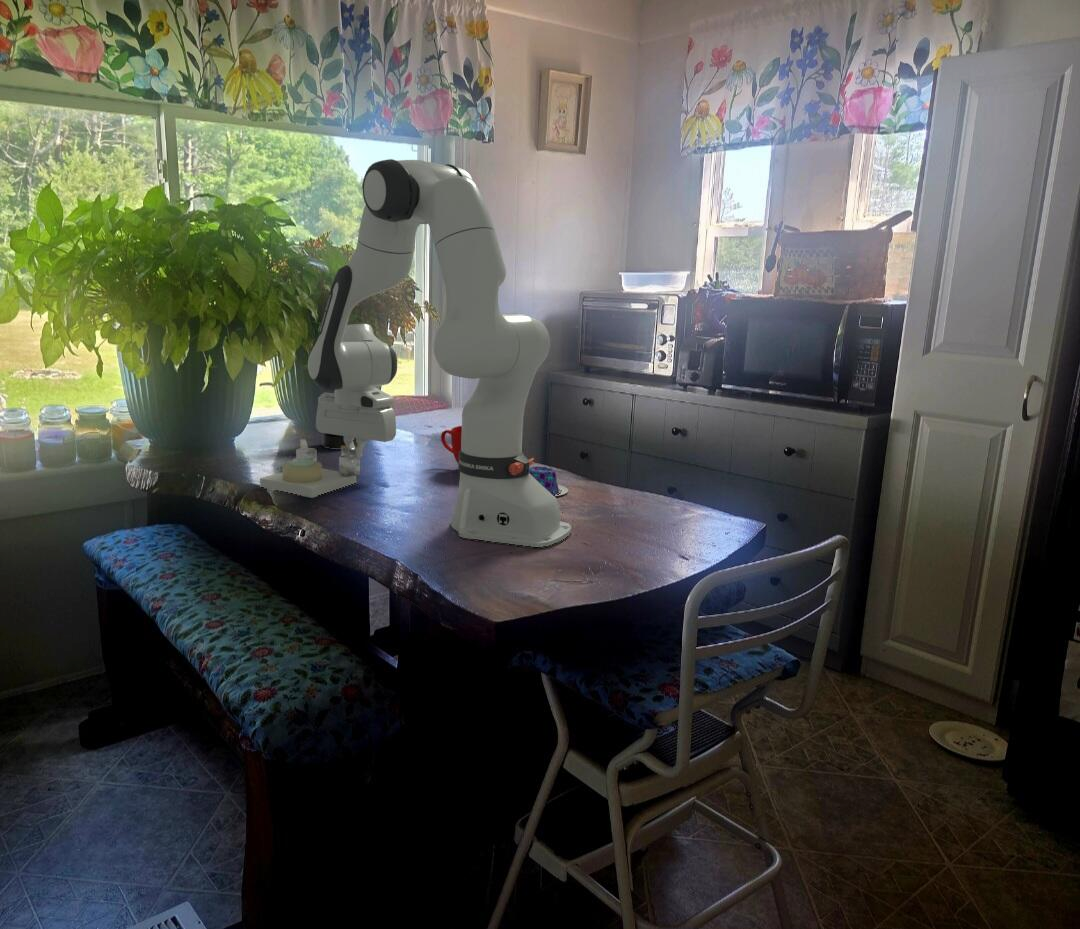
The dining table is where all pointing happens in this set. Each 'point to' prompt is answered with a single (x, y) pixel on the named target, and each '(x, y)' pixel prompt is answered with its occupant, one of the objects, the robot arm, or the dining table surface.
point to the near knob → (348, 463)
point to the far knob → (306, 451)
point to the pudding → (547, 479)
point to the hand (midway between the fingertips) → (355, 456)
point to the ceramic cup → (453, 440)
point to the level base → (309, 487)
